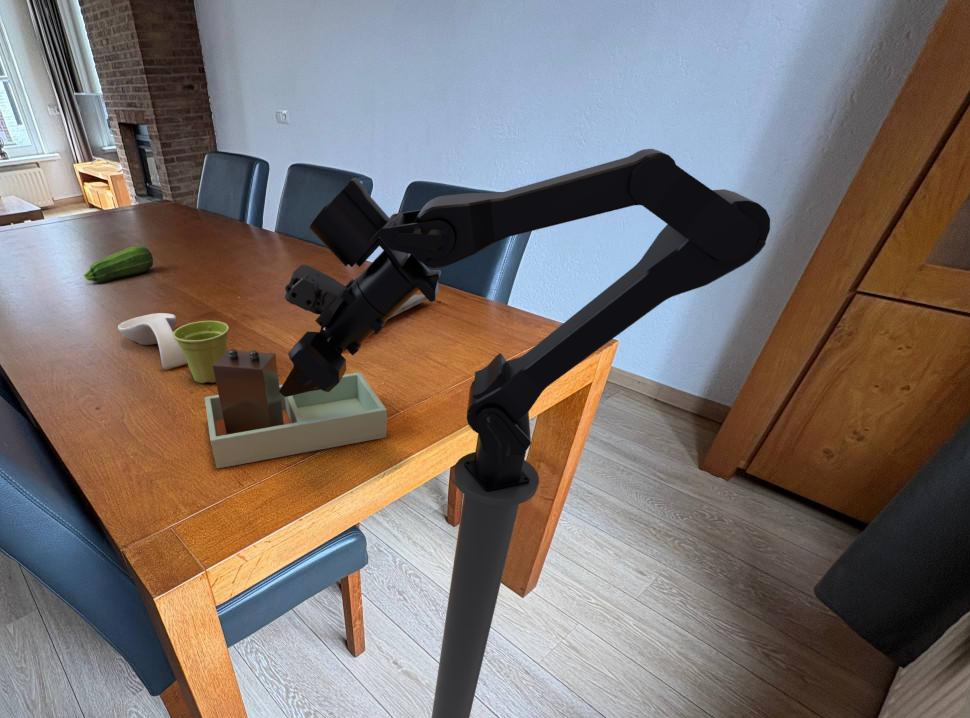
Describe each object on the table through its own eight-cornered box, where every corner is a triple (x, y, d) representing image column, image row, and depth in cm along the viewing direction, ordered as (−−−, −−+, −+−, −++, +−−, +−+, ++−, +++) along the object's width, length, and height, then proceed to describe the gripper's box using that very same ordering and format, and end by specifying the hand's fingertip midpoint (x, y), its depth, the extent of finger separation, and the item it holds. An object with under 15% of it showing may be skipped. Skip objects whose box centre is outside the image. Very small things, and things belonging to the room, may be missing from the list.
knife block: (240, 421, 77) (226, 340, 69) (284, 426, 76) (274, 344, 68) (227, 439, 73) (210, 356, 66) (272, 444, 72) (261, 359, 64)
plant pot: (173, 379, 92) (161, 332, 86) (214, 361, 97) (205, 316, 92) (206, 393, 87) (195, 345, 81) (247, 373, 92) (239, 327, 87)
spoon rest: (117, 337, 109) (106, 303, 105) (170, 324, 114) (162, 292, 109) (147, 376, 93) (136, 339, 89) (208, 360, 98) (200, 323, 93)
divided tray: (386, 437, 74) (387, 409, 71) (216, 468, 69) (210, 440, 66) (360, 397, 83) (360, 372, 80) (210, 423, 79) (204, 396, 76)
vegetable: (148, 239, 145) (78, 254, 135) (159, 265, 147) (91, 281, 137) (142, 248, 151) (74, 263, 141) (153, 272, 153) (87, 289, 143)
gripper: (344, 224, 63) (272, 309, 72) (298, 265, 49) (216, 365, 58) (405, 290, 66) (328, 364, 75) (378, 348, 52) (288, 430, 61)
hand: (293, 377), depth 67 cm, fingers open, 9 cm apart
